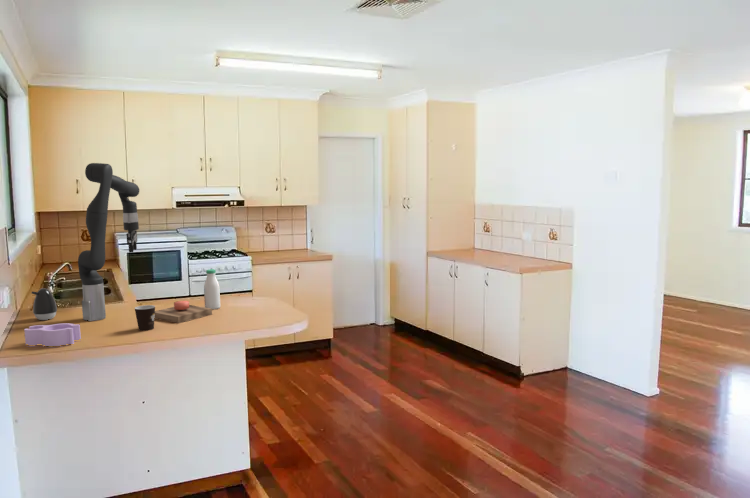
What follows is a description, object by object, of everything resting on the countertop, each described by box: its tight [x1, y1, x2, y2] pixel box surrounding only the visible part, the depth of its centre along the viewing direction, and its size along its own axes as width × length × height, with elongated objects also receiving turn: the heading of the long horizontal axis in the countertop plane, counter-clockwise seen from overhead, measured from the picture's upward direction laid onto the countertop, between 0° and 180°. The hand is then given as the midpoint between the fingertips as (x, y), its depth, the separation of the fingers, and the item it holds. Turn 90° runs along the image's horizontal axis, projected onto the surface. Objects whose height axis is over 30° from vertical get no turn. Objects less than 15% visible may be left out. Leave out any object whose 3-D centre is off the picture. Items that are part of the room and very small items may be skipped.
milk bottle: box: [203, 268, 221, 310], centre depth 313 cm, size 8×8×20 cm
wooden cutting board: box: [154, 304, 213, 324], centre depth 297 cm, size 20×20×3 cm
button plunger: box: [173, 300, 190, 310], centre depth 297 cm, size 7×7×3 cm
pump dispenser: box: [31, 287, 58, 321], centre depth 295 cm, size 10×10×15 cm
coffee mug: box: [134, 304, 156, 332], centre depth 274 cm, size 12×9×10 cm
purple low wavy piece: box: [23, 322, 82, 347], centre depth 253 cm, size 20×12×7 cm, turn 93°
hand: (132, 250), depth 329 cm, fingers open, 8 cm apart
